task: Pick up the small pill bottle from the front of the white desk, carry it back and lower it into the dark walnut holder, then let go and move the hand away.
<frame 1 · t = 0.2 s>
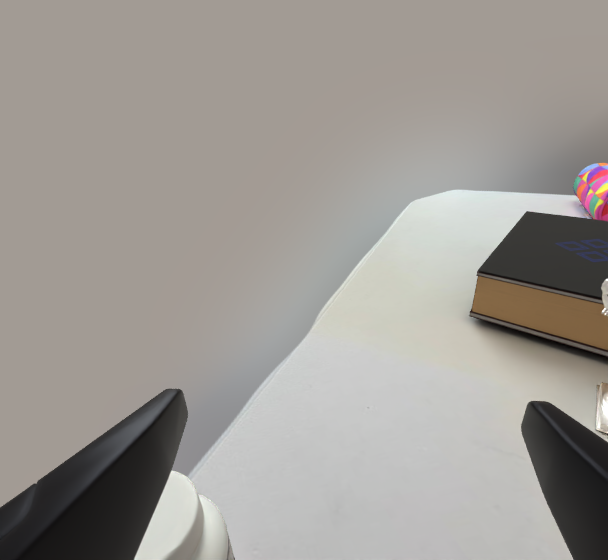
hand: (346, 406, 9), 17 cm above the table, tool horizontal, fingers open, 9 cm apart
book: (571, 298, 44), on the table
pencil case: (605, 217, 70), on the table
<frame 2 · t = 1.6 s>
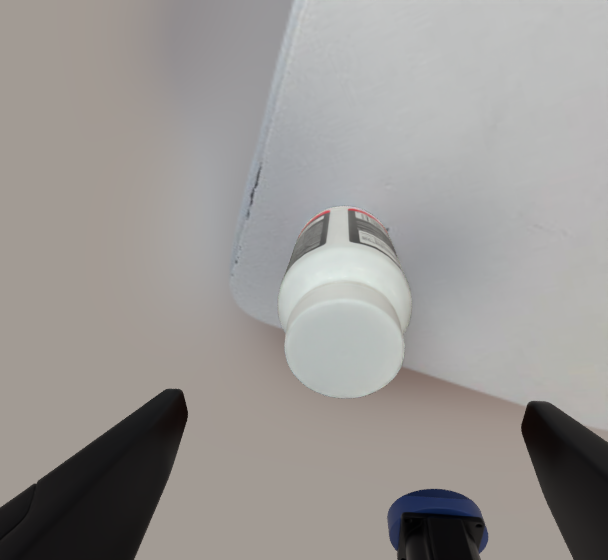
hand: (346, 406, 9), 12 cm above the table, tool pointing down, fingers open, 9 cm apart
pill bottle: (343, 249, 20), on the table
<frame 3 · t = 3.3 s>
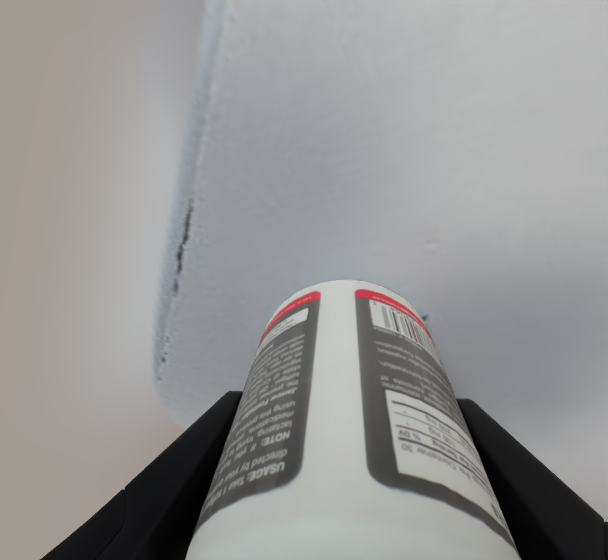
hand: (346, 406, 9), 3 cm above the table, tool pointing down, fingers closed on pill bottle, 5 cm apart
pill bottle: (345, 345, 12), on the table, touching gripper
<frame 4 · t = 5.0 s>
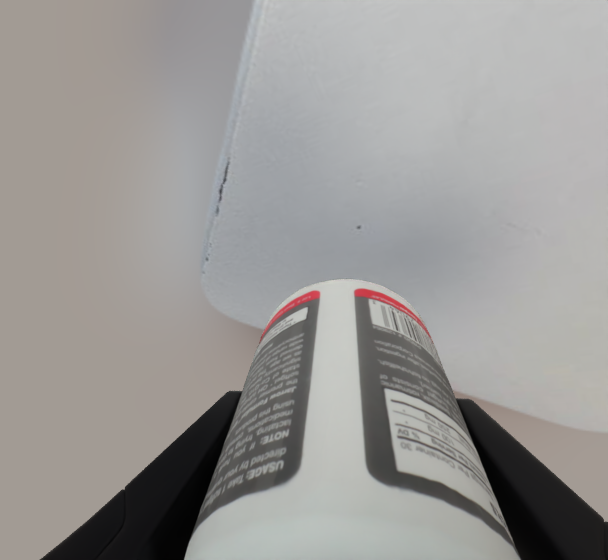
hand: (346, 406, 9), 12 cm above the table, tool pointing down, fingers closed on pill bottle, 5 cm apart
pill bottle: (344, 344, 12), point 9 cm above the table, touching gripper
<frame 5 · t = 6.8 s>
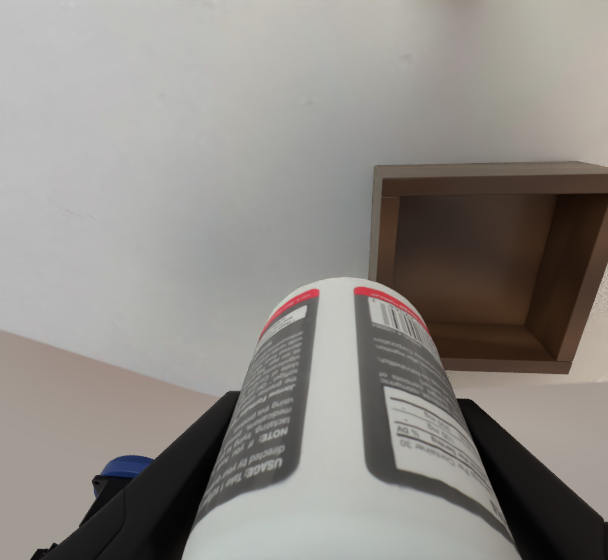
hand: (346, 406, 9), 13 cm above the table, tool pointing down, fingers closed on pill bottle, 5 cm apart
holder: (458, 254, 20), on the table
pill bottle: (344, 343, 12), point 10 cm above the table, touching gripper
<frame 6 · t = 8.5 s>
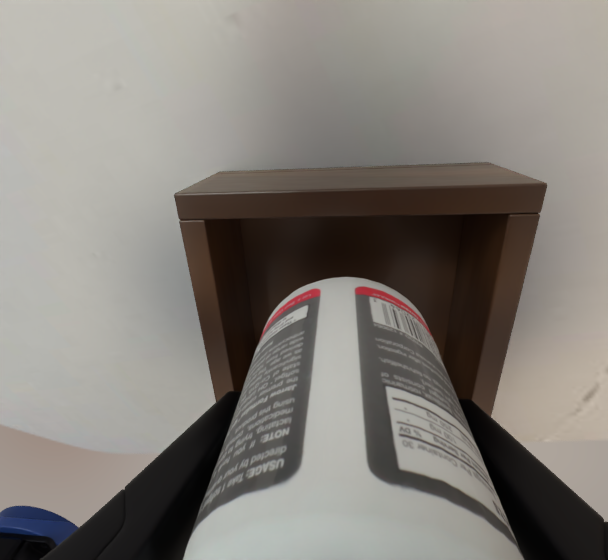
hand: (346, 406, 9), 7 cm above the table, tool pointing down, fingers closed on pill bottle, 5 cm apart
holder: (347, 287, 15), on the table
pill bottle: (345, 343, 12), point 4 cm above the table, touching gripper
when the fingers open (3 cm above the table, at t = 10.4 s): pill bottle stays where it is, resting on holder.
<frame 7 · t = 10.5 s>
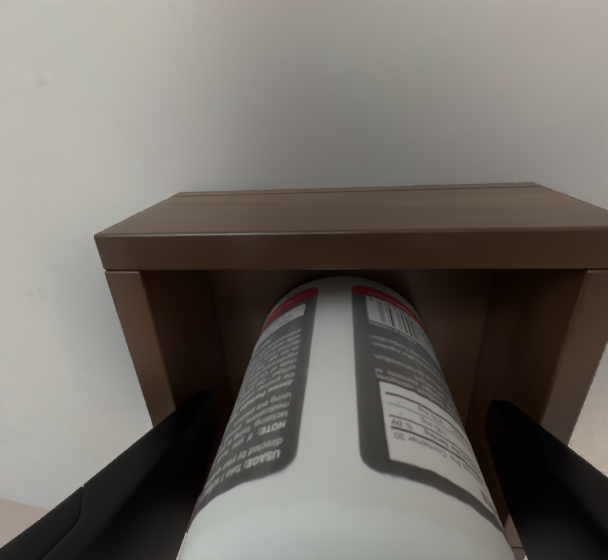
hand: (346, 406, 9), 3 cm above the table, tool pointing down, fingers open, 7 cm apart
holder: (345, 334, 12), on the table
pill bottle: (342, 341, 12), resting on holder
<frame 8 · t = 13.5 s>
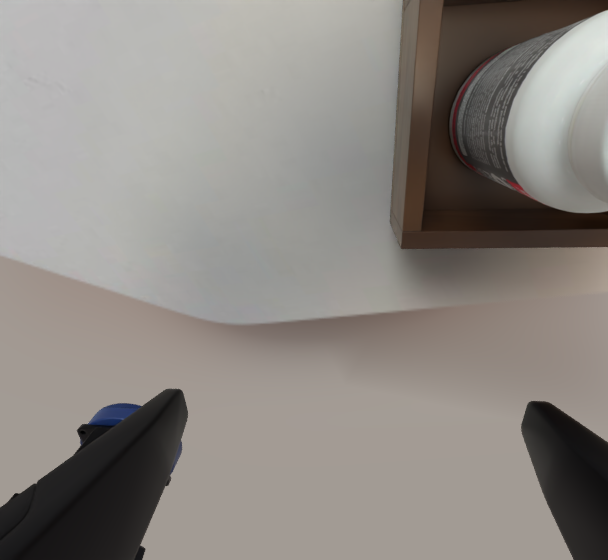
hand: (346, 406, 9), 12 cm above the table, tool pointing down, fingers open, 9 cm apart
holder: (505, 116, 17), on the table
pill bottle: (507, 115, 16), resting on holder
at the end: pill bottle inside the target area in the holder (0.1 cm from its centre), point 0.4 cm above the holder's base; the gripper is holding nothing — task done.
